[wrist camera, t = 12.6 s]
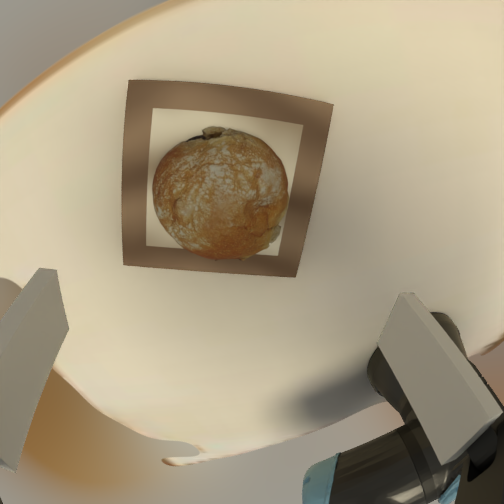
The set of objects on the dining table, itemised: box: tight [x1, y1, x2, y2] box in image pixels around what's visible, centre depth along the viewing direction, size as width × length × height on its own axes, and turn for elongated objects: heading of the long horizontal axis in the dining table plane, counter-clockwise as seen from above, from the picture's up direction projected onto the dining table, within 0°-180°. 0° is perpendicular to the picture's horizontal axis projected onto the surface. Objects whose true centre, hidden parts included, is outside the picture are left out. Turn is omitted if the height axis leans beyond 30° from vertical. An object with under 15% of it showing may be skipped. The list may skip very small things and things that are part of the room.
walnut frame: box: [122, 80, 334, 277], centre depth 26 cm, size 16×16×2 cm
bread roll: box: [152, 126, 290, 261], centre depth 23 cm, size 10×10×8 cm
